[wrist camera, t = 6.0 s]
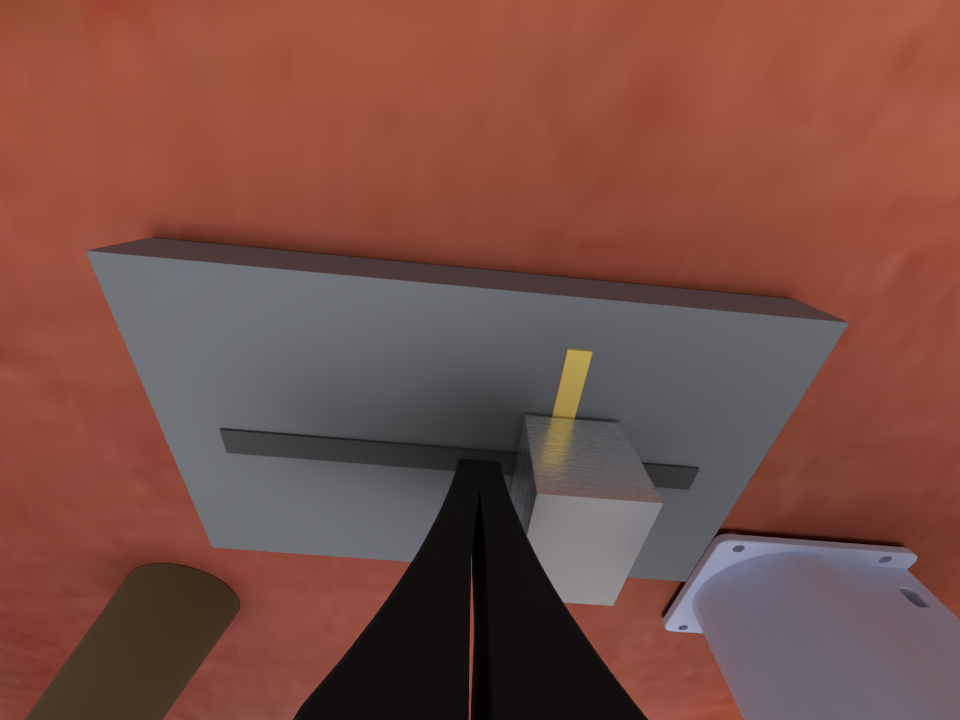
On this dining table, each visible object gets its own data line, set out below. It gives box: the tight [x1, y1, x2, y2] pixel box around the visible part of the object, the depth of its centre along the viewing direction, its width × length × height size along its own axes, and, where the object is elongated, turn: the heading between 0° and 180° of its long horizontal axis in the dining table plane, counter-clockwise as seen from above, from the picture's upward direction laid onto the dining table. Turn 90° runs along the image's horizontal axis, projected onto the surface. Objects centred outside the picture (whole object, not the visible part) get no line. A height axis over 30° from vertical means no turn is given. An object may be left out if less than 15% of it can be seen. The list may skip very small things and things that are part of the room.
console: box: [86, 238, 849, 582], centre depth 13 cm, size 20×12×2 cm, turn 85°
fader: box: [510, 415, 663, 606], centre depth 11 cm, size 3×4×3 cm
